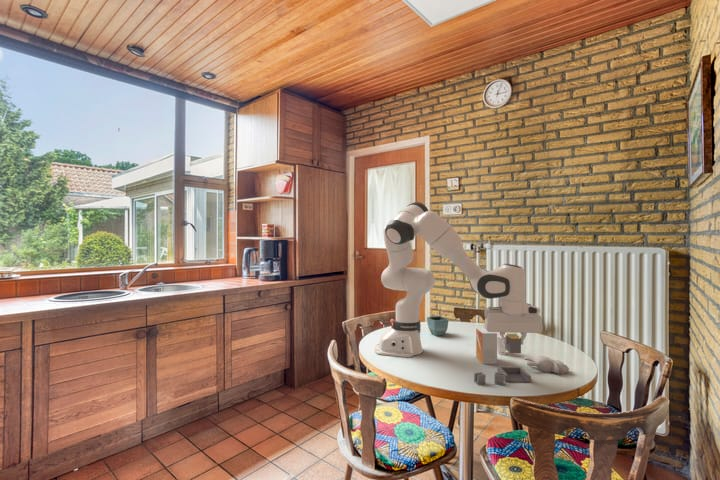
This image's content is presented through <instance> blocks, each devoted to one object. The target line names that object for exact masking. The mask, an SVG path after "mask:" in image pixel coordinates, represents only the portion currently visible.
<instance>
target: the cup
mask: <svg viewBox="0 0 720 480" xmlns="http://www.w3.org/2000/svg"><path fill="white" fill-rule="evenodd" d="M505 335H507V333H505ZM505 335H504V337H505ZM506 354H507V350H506V349H505V344H503V338H502V337H501V335H500V333H497V355H502V356H503V355H506Z"/></svg>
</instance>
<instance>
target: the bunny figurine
mask: <svg viewBox="0 0 720 480" xmlns="http://www.w3.org/2000/svg"><path fill="white" fill-rule="evenodd" d="M523 360H525V361H527V362H526V365H527V367H528V366H529V367H536V368H537V369H539V371H540V372H543V373H554V374H560V375H564V374H566V373H570V372H569V371H570V368H569V367H568V365H567V364H564V362H563V361H561V360H558V359H557V360H554V359H552V358H550V357H547V356H546V355H545V356H544V355H539V356H538V357H537V358H536V359H534V358H532V357H529V356H524V358H523Z"/></svg>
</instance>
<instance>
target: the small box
mask: <svg viewBox="0 0 720 480" xmlns="http://www.w3.org/2000/svg"><path fill="white" fill-rule="evenodd" d="M475 332H476V335H475V336H476V338H475V341H476V342H475V348H476V349H475V351H476V352H475V353H476V355H475V356H476V357H475V358H477V359H478V360H479V362H481V364H482V365H495V364H496V365H497V364H498V354H497V334H498V332H488V331H487V330H486V329H485V327H484V328H483V327H481V328H480V327H479V328H476V330H475Z"/></svg>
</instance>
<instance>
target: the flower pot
mask: <svg viewBox="0 0 720 480" xmlns="http://www.w3.org/2000/svg"><path fill="white" fill-rule="evenodd" d="M426 321H427V327H428V330H429V332H430V333H431V334H432V335H433V336H436V337H437V336H445V334H446V332H447V331H448V326H449V321H450V320H449V319H448V318H446V317H443V316H439V315H438V316H437V315H436V316H427V317H426Z"/></svg>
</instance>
